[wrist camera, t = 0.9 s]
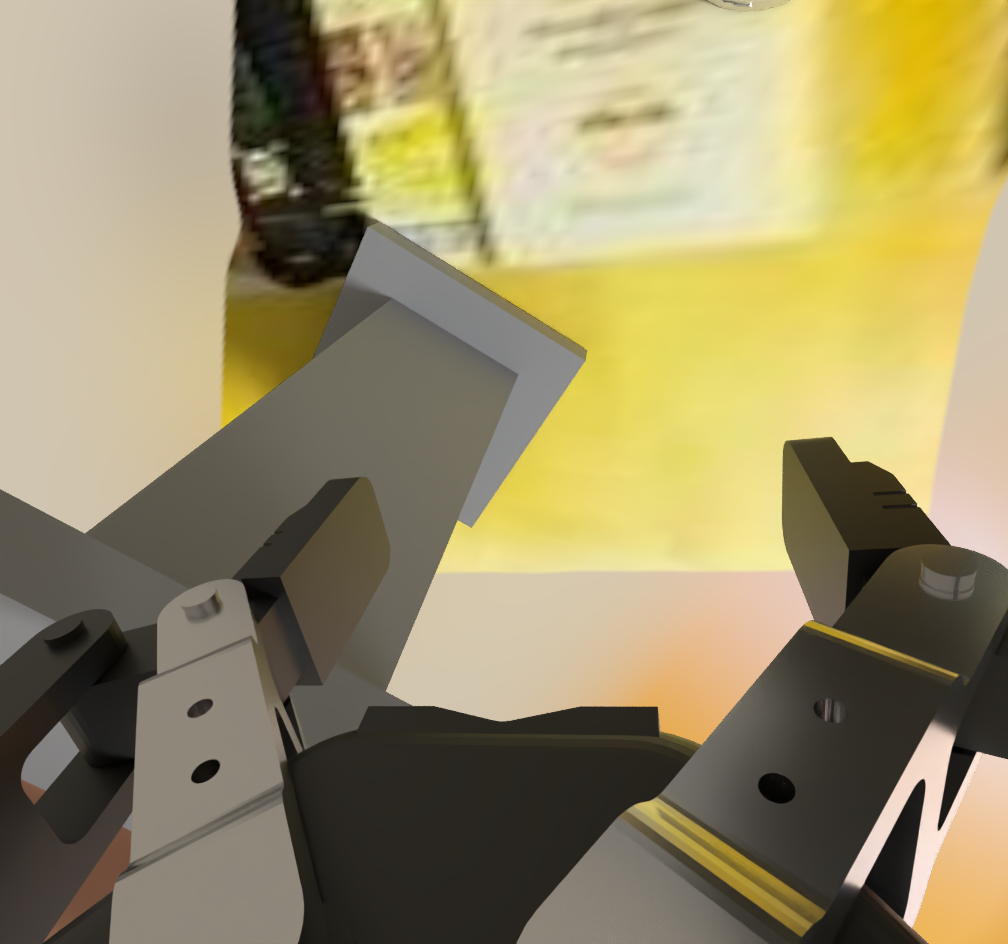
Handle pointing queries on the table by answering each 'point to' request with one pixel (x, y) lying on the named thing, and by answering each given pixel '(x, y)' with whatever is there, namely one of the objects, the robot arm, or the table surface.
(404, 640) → the stand
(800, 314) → the table surface
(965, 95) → the table surface
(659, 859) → the robot arm
